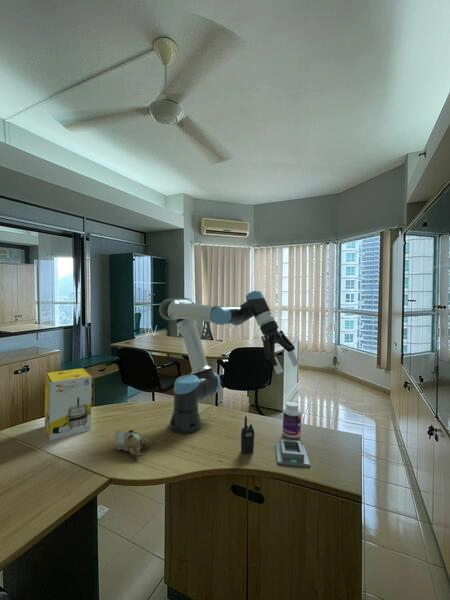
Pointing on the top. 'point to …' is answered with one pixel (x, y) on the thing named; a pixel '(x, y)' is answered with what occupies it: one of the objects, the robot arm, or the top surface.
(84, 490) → the top surface
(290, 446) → the charging cradle
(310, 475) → the top surface
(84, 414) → the packaging box
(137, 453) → the ceramic sculpture
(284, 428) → the pill bottle
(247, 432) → the two-way radio
